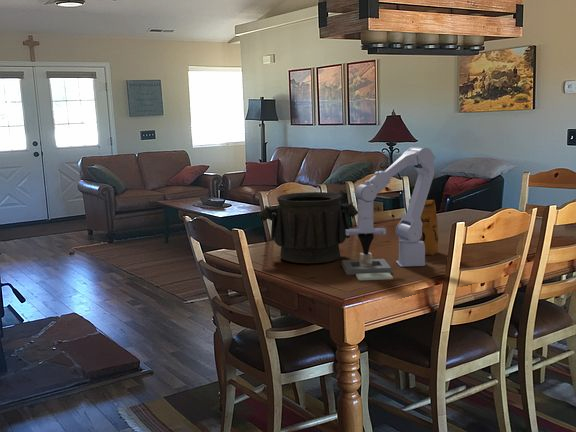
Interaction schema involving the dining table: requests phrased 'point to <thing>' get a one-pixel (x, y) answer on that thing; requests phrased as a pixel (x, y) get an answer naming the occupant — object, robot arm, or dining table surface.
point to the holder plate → (365, 267)
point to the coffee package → (429, 227)
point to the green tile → (374, 276)
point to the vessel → (309, 226)
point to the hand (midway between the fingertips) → (365, 253)
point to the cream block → (366, 259)
